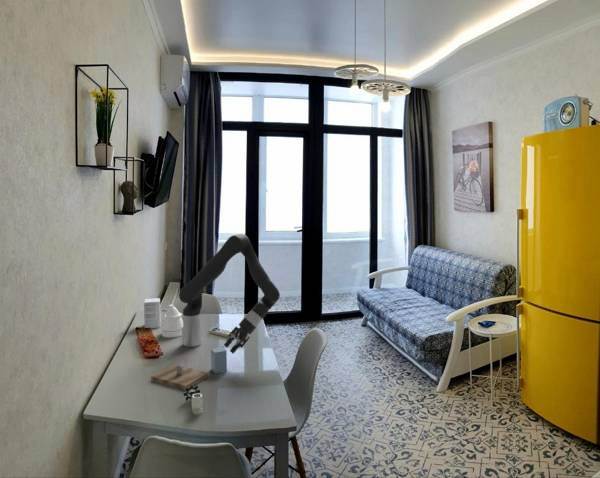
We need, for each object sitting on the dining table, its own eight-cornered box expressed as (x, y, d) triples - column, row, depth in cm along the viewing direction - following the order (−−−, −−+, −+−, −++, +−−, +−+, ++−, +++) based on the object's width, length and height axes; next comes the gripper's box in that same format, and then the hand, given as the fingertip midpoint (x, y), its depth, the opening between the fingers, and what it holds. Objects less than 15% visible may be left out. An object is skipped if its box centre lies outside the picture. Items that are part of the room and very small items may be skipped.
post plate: (151, 380, 172) (150, 367, 172) (174, 368, 185) (174, 356, 184) (185, 390, 163) (185, 376, 163) (207, 376, 176) (207, 364, 175)
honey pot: (180, 337, 226) (179, 307, 225) (158, 337, 227) (157, 307, 225) (187, 330, 239) (186, 301, 237) (166, 330, 239) (165, 301, 238)
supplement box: (145, 324, 250) (144, 298, 249) (160, 323, 253) (160, 297, 251) (144, 329, 241) (143, 302, 240) (160, 327, 244) (159, 301, 242)
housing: (215, 373, 179) (214, 352, 178) (211, 369, 184) (211, 348, 183) (226, 371, 182) (226, 350, 181) (222, 366, 187) (222, 346, 186)
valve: (207, 412, 147) (200, 398, 157) (207, 396, 146) (199, 382, 156) (189, 417, 143) (183, 402, 154) (189, 400, 143) (182, 386, 153)
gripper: (240, 313, 194) (218, 340, 189) (251, 321, 181) (227, 349, 177) (250, 322, 197) (228, 348, 192) (261, 330, 184) (239, 358, 180)
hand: (228, 349), depth 184 cm, fingers open, 8 cm apart
